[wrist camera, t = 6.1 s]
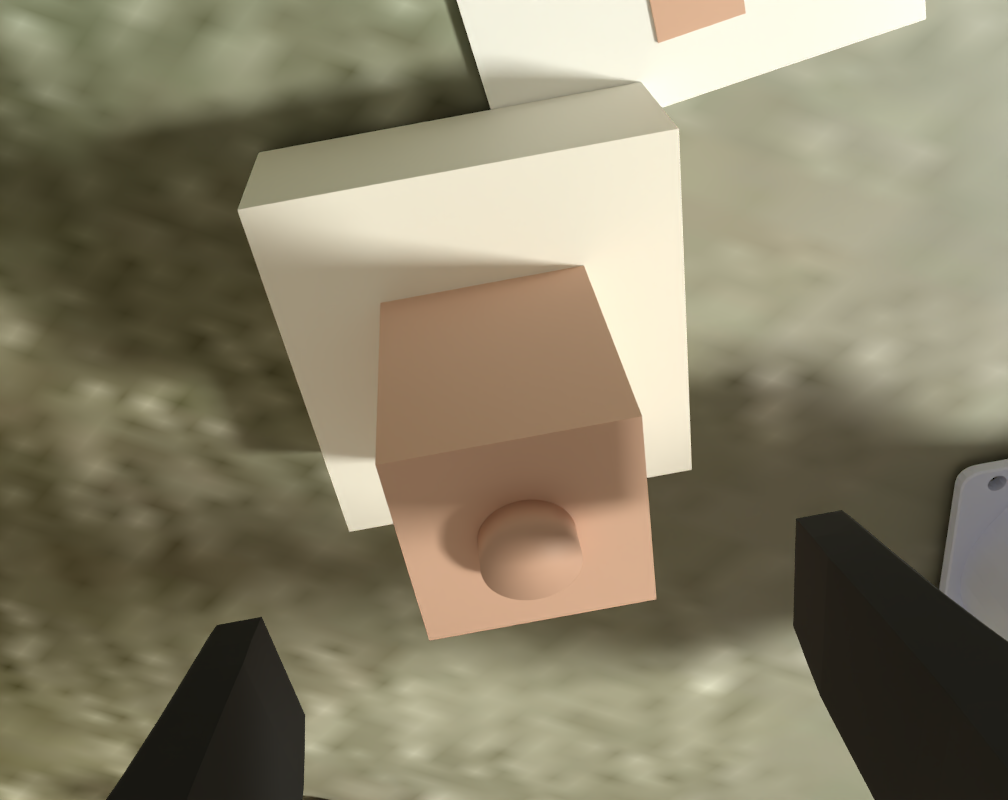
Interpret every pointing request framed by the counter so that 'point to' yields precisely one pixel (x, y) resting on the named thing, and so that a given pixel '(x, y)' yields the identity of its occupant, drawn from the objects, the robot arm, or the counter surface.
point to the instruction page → (658, 42)
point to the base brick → (473, 251)
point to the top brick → (512, 454)
